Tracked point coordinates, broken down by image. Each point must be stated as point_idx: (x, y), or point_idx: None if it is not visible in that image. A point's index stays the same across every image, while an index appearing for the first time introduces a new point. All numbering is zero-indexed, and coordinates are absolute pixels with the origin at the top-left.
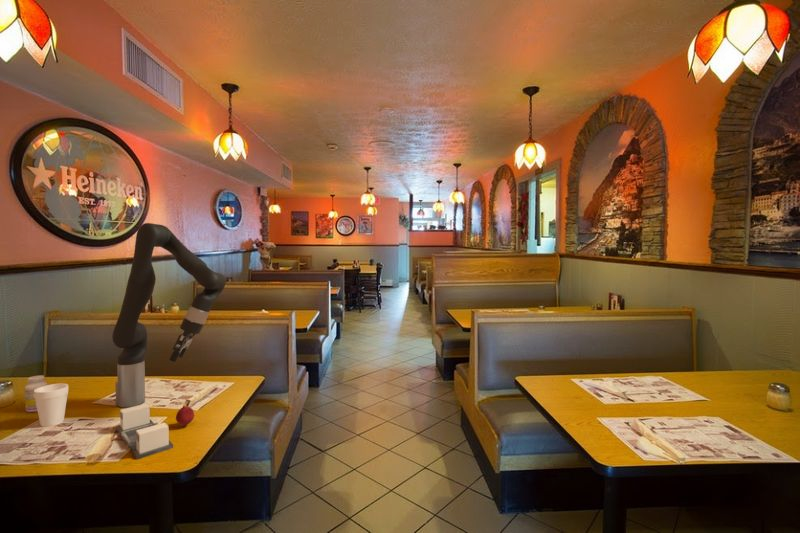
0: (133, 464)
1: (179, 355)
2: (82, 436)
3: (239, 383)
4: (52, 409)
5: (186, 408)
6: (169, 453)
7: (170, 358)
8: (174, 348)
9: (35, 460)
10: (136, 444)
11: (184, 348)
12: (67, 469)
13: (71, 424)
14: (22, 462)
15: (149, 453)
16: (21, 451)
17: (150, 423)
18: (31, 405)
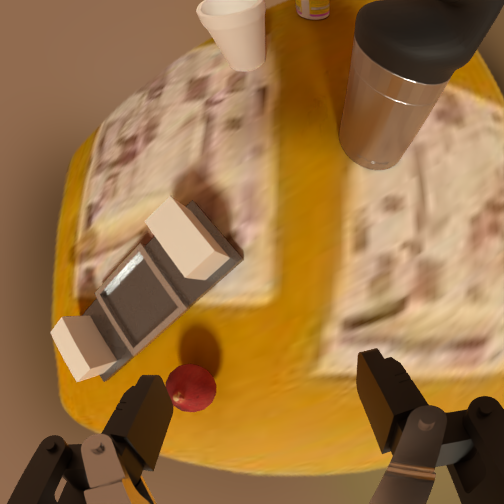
0: None
1: (360, 374)
2: (169, 154)
3: (500, 388)
4: (218, 45)
5: (173, 402)
6: (92, 378)
7: (139, 383)
8: (49, 454)
9: (98, 153)
10: (82, 316)
11: (386, 442)
12: (65, 227)
13: (235, 91)
14: (98, 140)
15: None
16: (133, 106)
17: (202, 284)
18: (296, 4)
